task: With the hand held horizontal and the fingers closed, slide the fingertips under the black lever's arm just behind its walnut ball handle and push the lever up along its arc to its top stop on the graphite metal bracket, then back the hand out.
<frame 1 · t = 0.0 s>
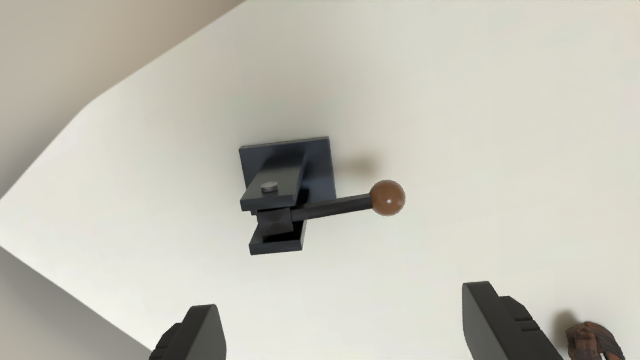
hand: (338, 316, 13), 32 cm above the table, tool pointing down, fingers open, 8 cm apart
lever: (332, 207, 34), point 11 cm above the table, hinge at -10.0°
bracket: (289, 175, 45), on the table
brown curved ring piece: (570, 343, 51), on the table
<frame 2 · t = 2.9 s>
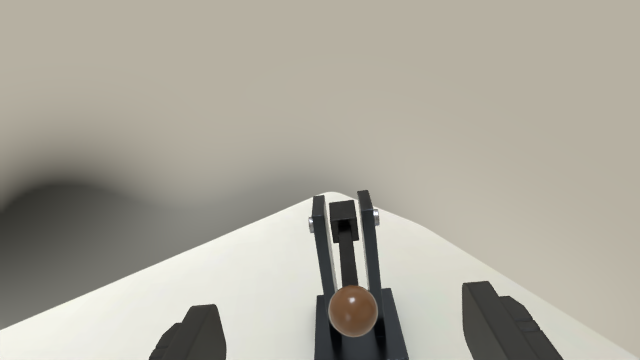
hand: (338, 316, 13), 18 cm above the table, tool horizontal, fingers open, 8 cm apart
lever: (347, 260, 30), point 11 cm above the table, hinge at -10.0°
bracket: (358, 332, 38), on the table
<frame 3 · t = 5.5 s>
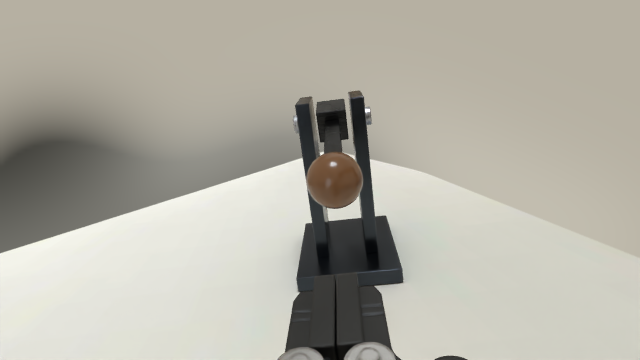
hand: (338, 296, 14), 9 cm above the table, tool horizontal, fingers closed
lever: (333, 145, 27), point 11 cm above the table, hinge at -10.0°
bracket: (348, 254, 35), on the table
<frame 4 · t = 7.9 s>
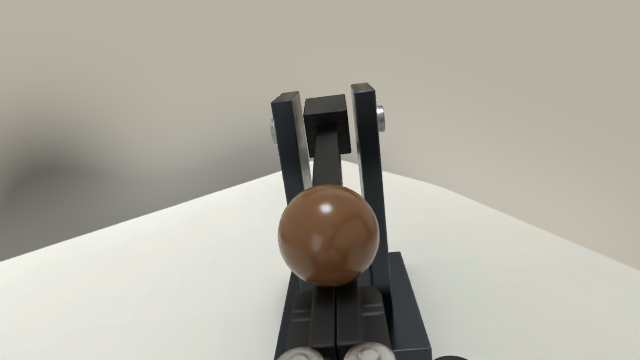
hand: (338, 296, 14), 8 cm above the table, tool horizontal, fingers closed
lever: (328, 166, 17), point 11 cm above the table, hinge at -10.0°, touching gripper
bracket: (350, 312, 25), on the table
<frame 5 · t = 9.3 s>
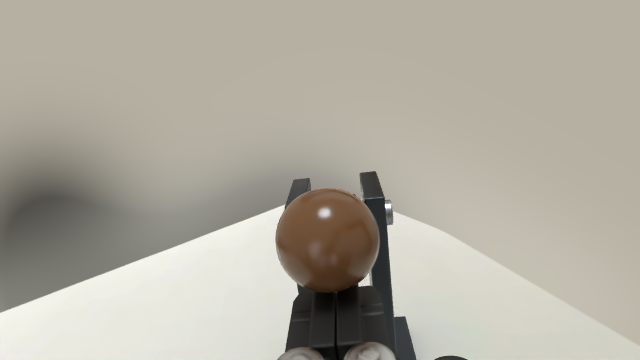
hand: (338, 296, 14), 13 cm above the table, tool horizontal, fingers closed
lever: (334, 225, 17), point 14 cm above the table, hinge at 19.9°, touching gripper
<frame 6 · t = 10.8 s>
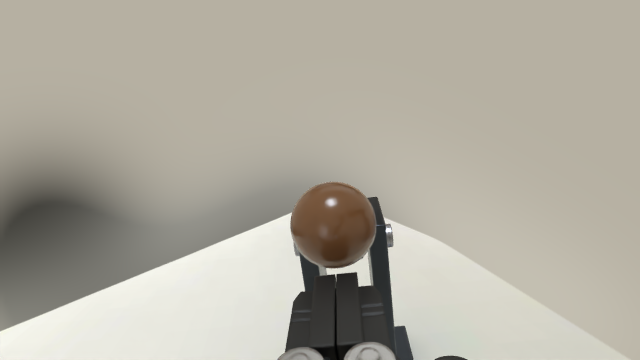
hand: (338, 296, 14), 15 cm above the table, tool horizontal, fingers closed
lever: (339, 234, 19), point 15 cm above the table, hinge at 30.4°
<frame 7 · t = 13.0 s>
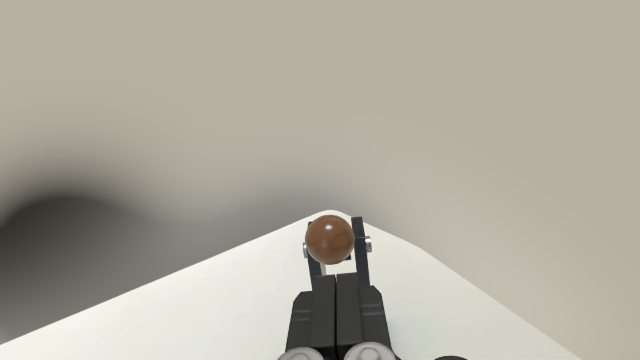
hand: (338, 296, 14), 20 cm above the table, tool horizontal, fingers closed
lever: (334, 243, 30), point 15 cm above the table, hinge at 30.4°
bracket: (350, 356, 39), on the table
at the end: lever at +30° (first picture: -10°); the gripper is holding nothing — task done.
